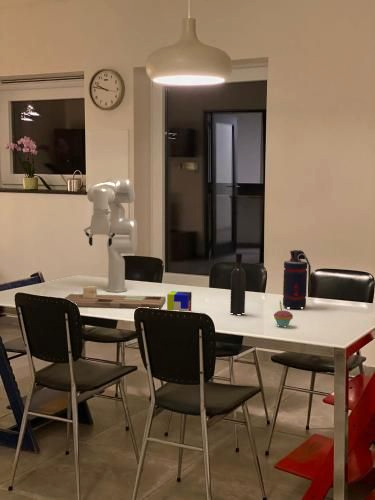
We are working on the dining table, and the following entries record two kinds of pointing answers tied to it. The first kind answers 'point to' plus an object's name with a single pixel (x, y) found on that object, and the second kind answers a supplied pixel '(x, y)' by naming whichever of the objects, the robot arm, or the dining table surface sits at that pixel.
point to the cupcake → (283, 317)
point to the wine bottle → (238, 287)
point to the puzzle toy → (179, 301)
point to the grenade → (296, 280)
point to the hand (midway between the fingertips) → (100, 245)
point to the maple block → (90, 291)
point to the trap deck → (117, 301)
